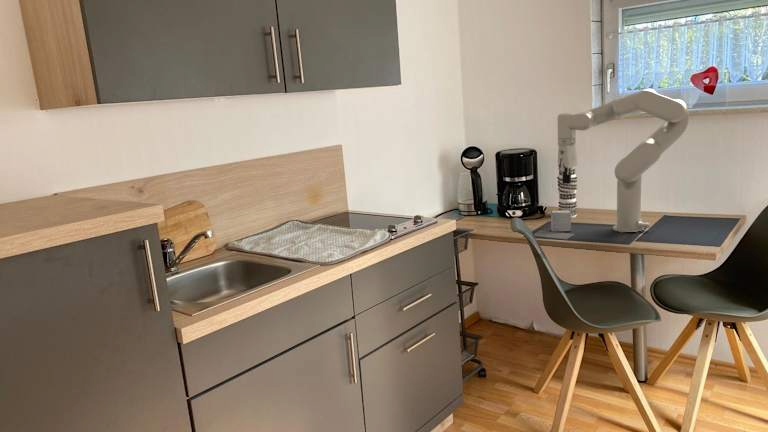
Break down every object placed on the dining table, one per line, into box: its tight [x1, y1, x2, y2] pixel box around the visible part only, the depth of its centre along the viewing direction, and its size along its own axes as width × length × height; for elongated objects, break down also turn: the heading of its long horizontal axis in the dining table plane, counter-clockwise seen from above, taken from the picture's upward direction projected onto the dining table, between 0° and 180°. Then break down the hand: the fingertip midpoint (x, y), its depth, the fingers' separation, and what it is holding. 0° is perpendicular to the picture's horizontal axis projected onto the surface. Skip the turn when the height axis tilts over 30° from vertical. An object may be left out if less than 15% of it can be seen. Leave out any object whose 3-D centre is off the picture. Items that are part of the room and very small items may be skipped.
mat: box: [533, 230, 576, 241], centre depth 264 cm, size 16×9×1 cm, turn 50°
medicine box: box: [550, 210, 572, 233], centre depth 269 cm, size 8×4×9 cm, turn 84°
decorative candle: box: [556, 166, 578, 219], centre depth 294 cm, size 9×9×25 cm
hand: (566, 182), depth 271 cm, fingers closed
